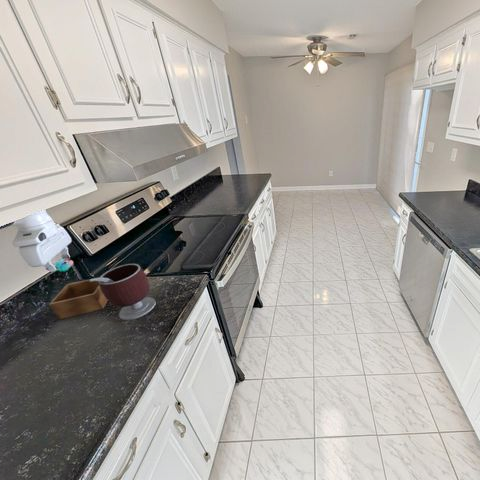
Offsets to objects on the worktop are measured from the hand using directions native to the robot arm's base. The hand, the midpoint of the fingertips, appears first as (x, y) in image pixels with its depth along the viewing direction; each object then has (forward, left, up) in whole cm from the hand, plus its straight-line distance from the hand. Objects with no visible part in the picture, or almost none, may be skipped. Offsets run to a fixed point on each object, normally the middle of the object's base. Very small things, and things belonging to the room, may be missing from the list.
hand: (60, 264), depth 94 cm
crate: (0, +2, -21) cm, 21 cm away
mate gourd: (+20, -11, -21) cm, 31 cm away
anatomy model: (0, +1, -2) cm, 2 cm away
